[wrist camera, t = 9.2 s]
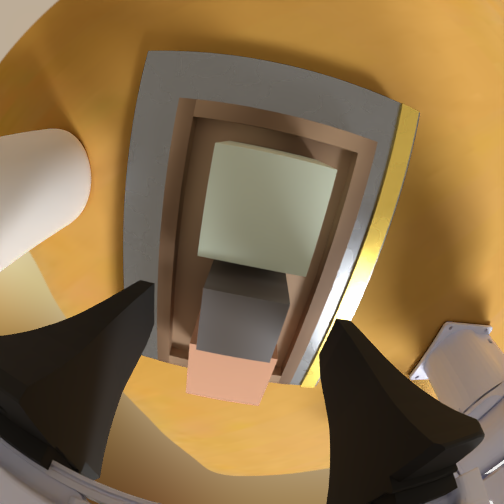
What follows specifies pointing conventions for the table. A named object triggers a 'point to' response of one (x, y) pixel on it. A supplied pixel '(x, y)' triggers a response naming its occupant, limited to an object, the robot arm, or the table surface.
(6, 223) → the pill bottle
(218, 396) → the terracotta block
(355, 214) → the tray
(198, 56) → the dock
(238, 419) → the table surface
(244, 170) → the sage block
